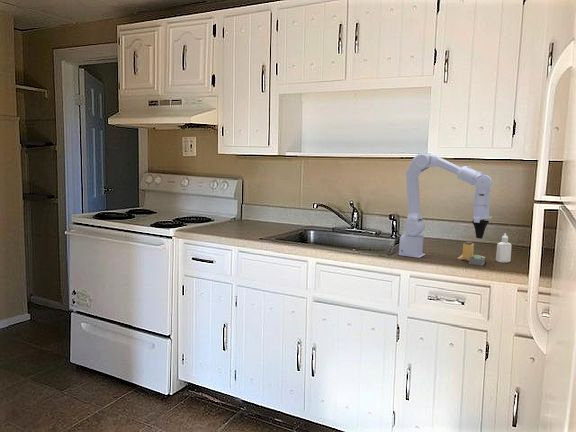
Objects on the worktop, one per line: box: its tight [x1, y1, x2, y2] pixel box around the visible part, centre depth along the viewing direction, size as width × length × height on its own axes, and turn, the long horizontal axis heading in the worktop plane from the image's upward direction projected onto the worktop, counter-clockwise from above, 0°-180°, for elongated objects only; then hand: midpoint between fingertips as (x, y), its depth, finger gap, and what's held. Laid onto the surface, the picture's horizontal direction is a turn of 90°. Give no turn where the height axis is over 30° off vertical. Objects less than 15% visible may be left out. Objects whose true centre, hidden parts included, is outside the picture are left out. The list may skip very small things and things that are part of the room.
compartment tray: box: [456, 253, 487, 262], centre depth 203 cm, size 10×10×1 cm
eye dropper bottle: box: [495, 232, 512, 264], centre depth 198 cm, size 4×6×12 cm
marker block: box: [461, 241, 475, 258], centre depth 202 cm, size 4×4×6 cm
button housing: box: [468, 256, 486, 266], centre depth 194 cm, size 5×5×2 cm
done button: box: [473, 254, 482, 259], centre depth 194 cm, size 3×3×3 cm
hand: (479, 238), depth 194 cm, fingers closed
